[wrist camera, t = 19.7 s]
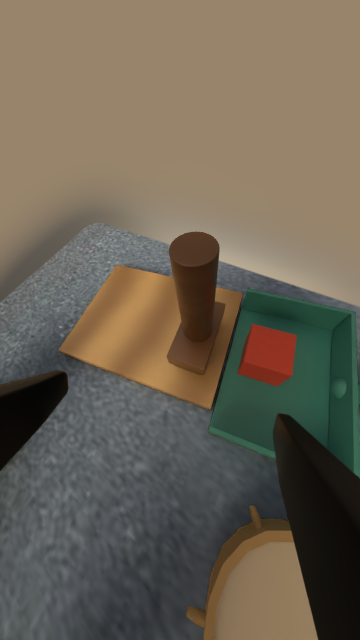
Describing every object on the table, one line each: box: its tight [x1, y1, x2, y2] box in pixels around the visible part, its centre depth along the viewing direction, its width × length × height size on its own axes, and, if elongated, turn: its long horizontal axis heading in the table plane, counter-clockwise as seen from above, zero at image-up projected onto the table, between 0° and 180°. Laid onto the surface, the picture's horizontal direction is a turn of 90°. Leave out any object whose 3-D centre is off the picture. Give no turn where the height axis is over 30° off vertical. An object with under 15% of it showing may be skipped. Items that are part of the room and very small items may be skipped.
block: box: [237, 324, 297, 386], centre depth 20 cm, size 4×4×4 cm
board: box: [58, 265, 243, 410], centre depth 25 cm, size 18×14×2 cm
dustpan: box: [208, 288, 360, 478], centre depth 19 cm, size 17×15×4 cm
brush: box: [166, 232, 226, 375], centre depth 17 cm, size 7×4×13 cm, turn 159°
